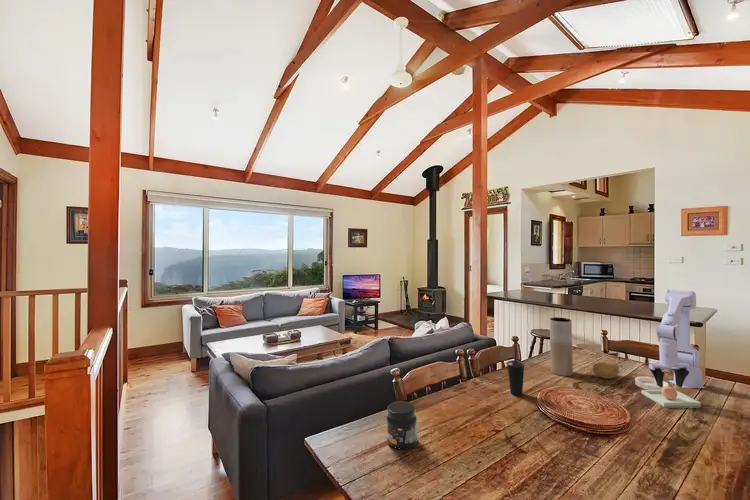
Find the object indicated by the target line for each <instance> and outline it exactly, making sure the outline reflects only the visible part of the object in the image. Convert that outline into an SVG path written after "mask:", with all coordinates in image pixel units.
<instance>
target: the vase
mask: <svg viewBox="0 0 750 500" xmlns="http://www.w3.org/2000/svg"><path fill="white" fill-rule="evenodd" d="M572 325H573V323H572V319H570V318H566V317H559V316H558V317H550V318H549V334H550V335H549V337H550V339H549V341H550V343H549V345H550V348H549V349H550V370H551V373H552V374H555V375H557V376H561V377H570V376H573V374H574V360H573V359H574V358H573V332H572V331H573V329H572Z"/></svg>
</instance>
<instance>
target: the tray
mask: <svg viewBox="0 0 750 500" xmlns="http://www.w3.org/2000/svg"><path fill="white" fill-rule="evenodd" d="M675 390H676V389H675ZM676 392H677V397H676V398H675V399H667V398H666V397H664V396H663V395H662V392H661V390H647V389H641V395H643V396H645V397H646V398H648V399H649V400H651V401H653V402H655V403H657V404H658V405H660V406H662V408H665V409H666V408H668V409H670V408H675V409H676V408H677V409H681V408H683V409H687V408H688V409H691V408H692V409H693V408H694V409H697V408H698V409H699V408H701V407H702V404H701V403H702V402H700V401H699V400H696V399H695V398H692V397H690V396H689V395H686V394H685V393H682V392H681V391H679V390H676Z"/></svg>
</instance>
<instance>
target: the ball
mask: <svg viewBox="0 0 750 500" xmlns="http://www.w3.org/2000/svg"><path fill="white" fill-rule="evenodd" d="M661 392H662V395H663V396H664V397H666V398H667V399H675V398H676V397H677V392H676V389H675V388H674V387H672V386H670V385H669V386H665V387H663V388H662V390H661Z"/></svg>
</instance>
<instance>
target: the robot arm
mask: <svg viewBox="0 0 750 500" xmlns="http://www.w3.org/2000/svg"><path fill="white" fill-rule="evenodd" d="M664 299H665V300H664V301H665V302H666V304H668V305H667V306H668V310H667V311H666V312H665V313H663V315H662V319H661V322H660V324H658V325H656V336H657V342H658V348H659V349H658V350H659V351H658V352H659V353H658V354H659V362H653V363H648V369H649V371H650V373H651V374H652V375H653V378H655V380H656V383H657V386H659V387H663V381H664V377H665V373H666V372H665V371H662V370H673V380H671V379H670V380H668V382H670V383H672V384H674V385H676V386H677V387H679V388H682V389H683V388H684V389H690V388H691V389H701V388H702V389H705V386H704V384H703V382H704V381H703V379H704V378H703V370H701V368H700V367H699V365H700V355H699V350H698V349H697V348H696V347H694V346H693V345H691V323H690V322H691V321H690V320H691V319H690V317H691V316H690V315H691V314H690V313H691V310H693V309H694V310H695V309H696V307H697V294H696V292H695V291H694V290H674V289H666V290H665V292H664Z"/></svg>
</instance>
